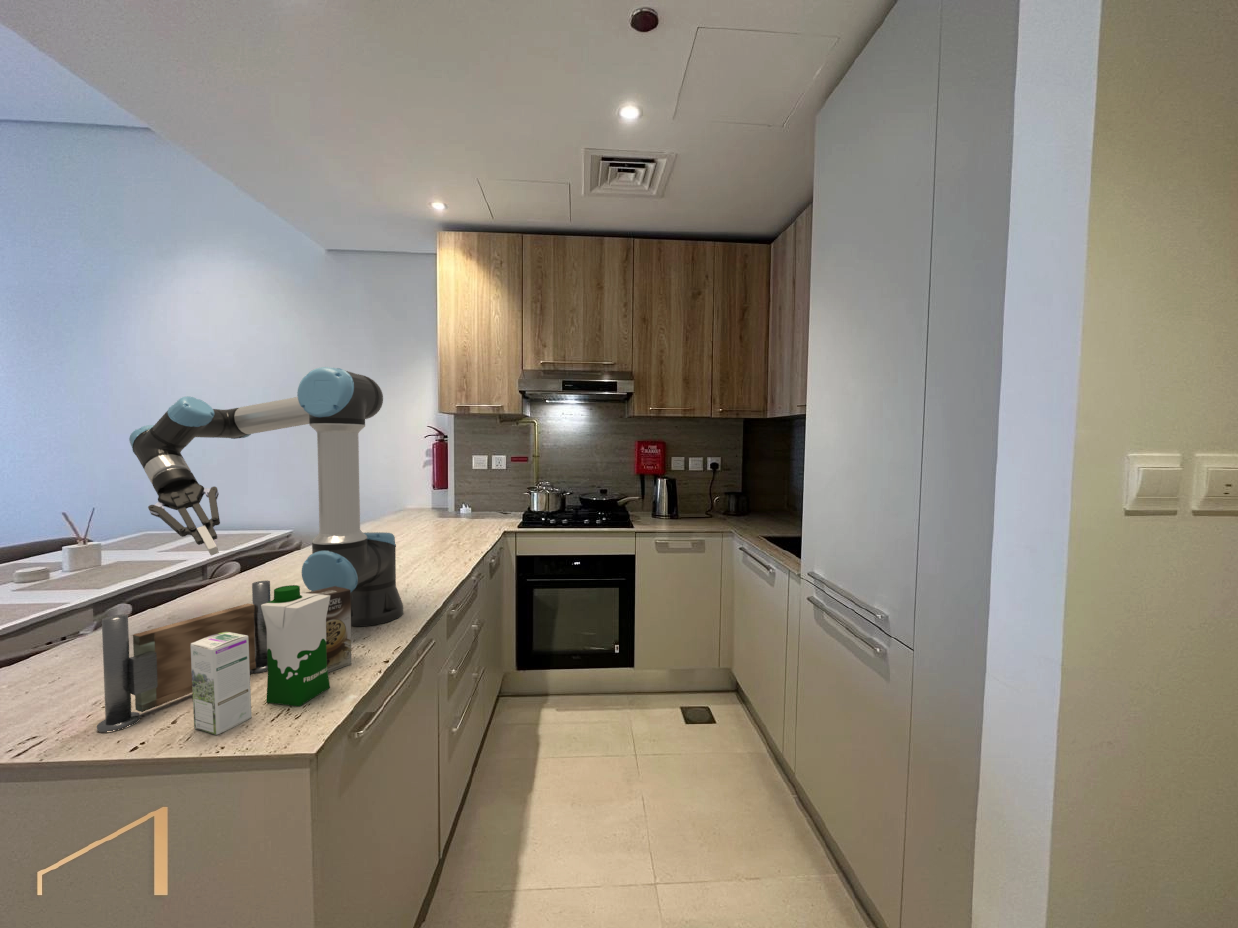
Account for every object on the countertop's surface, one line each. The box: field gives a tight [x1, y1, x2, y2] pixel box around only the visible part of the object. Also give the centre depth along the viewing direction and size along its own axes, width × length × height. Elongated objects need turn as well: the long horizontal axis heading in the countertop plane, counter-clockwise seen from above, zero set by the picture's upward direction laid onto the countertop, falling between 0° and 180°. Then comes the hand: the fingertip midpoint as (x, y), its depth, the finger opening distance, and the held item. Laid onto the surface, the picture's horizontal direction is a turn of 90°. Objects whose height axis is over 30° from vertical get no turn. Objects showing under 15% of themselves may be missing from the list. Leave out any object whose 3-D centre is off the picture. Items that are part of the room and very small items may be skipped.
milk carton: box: [261, 584, 331, 707], centre depth 90 cm, size 9×9×20 cm
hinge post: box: [250, 580, 271, 674], centre depth 101 cm, size 5×5×18 cm
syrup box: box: [191, 632, 253, 736], centre depth 81 cm, size 6×6×14 cm
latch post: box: [96, 613, 158, 732], centre depth 81 cm, size 6×5×18 cm
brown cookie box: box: [305, 586, 352, 673], centre depth 101 cm, size 9×6×16 cm
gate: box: [132, 603, 256, 713], centre depth 91 cm, size 18×2×13 cm, turn 157°
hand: (213, 550), depth 109 cm, fingers closed
